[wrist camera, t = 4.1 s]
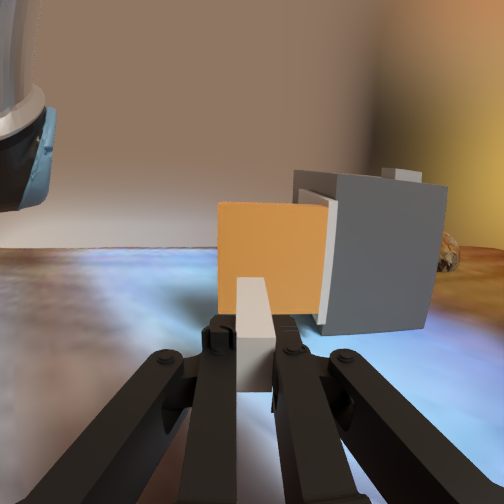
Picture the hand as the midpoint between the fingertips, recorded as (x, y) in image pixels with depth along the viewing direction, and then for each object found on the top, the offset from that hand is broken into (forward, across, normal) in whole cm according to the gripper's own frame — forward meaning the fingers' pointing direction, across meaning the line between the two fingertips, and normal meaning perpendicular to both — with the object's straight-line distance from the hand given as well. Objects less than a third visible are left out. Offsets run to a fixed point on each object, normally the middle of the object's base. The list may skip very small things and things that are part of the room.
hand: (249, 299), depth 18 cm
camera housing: (+17, +13, -7) cm, 23 cm away
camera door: (+12, +2, -5) cm, 13 cm away
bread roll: (+29, +34, -7) cm, 45 cm away
